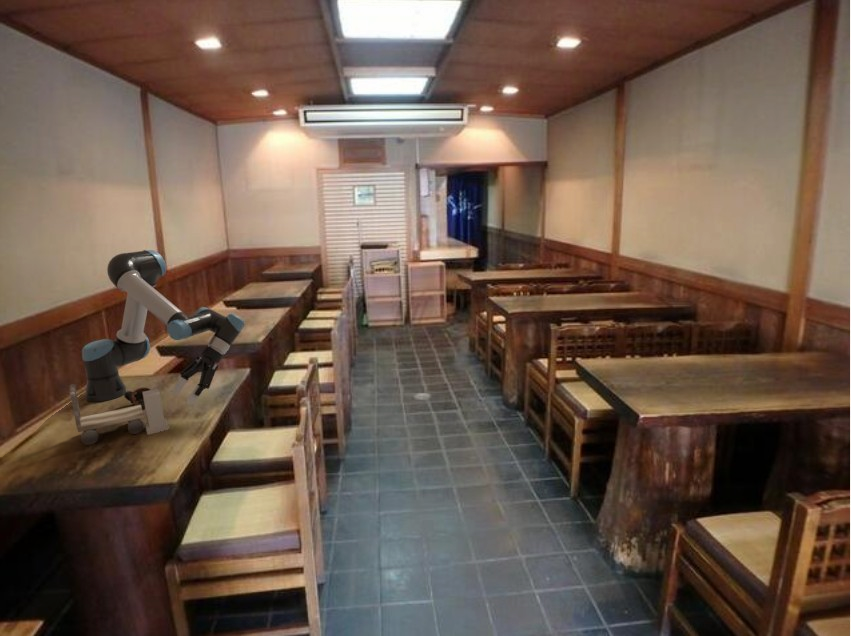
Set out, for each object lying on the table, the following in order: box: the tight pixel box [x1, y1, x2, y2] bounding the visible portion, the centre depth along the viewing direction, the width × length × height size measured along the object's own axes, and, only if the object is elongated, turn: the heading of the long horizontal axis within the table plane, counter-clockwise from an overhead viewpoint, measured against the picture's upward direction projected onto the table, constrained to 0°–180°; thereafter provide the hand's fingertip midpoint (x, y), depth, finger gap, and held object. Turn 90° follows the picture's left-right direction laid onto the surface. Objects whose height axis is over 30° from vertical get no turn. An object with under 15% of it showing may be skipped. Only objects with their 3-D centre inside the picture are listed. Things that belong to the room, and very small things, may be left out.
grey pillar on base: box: [143, 388, 170, 436], centre depth 189 cm, size 7×7×14 cm
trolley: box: [69, 383, 145, 446], centre depth 185 cm, size 13×20×19 cm, turn 123°
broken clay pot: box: [123, 387, 152, 407], centre depth 212 cm, size 12×10×8 cm
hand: (181, 398), depth 196 cm, fingers open, 13 cm apart
